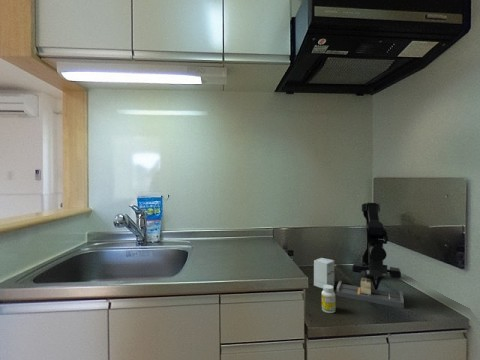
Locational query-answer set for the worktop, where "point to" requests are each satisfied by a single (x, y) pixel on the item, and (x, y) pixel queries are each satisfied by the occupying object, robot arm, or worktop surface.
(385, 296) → the fader console
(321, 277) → the supplement box
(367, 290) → the fader knob
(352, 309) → the worktop surface
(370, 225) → the robot arm
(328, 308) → the supplement bottle
